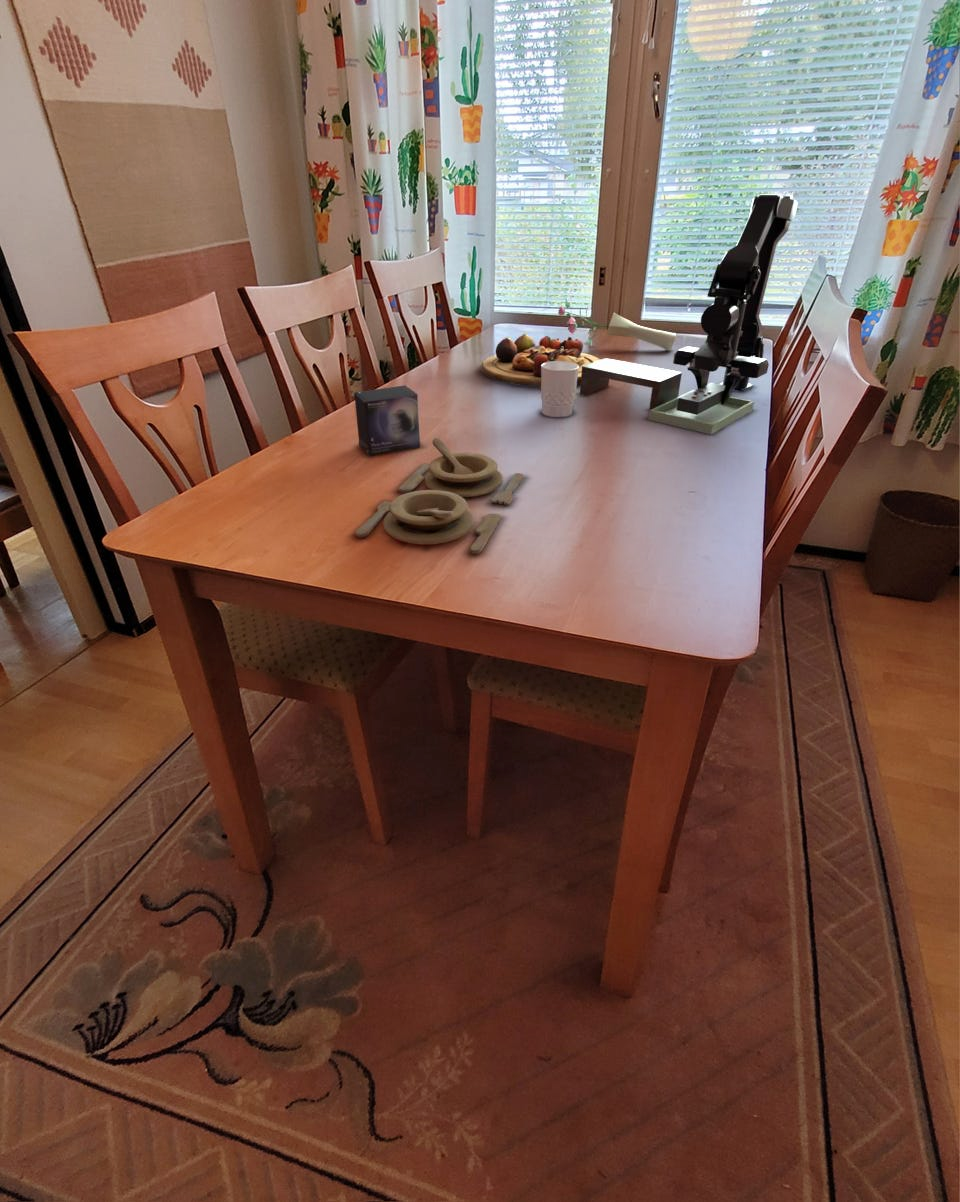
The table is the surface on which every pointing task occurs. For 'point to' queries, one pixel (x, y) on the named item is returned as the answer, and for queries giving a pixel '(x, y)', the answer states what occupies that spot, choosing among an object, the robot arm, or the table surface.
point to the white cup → (558, 388)
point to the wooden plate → (532, 359)
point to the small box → (387, 419)
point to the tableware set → (443, 500)
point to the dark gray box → (701, 399)
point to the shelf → (631, 379)
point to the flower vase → (625, 329)
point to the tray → (702, 415)
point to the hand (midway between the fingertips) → (711, 402)
